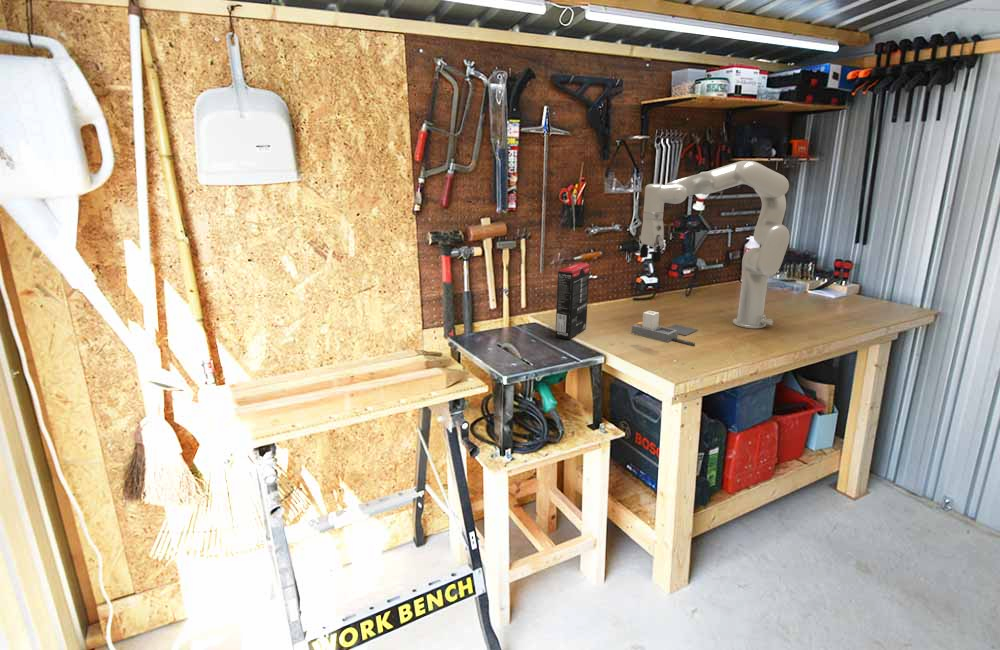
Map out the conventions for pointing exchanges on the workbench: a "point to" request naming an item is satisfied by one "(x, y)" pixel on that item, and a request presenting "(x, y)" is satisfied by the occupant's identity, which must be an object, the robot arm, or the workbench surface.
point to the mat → (683, 329)
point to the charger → (650, 320)
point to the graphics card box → (572, 300)
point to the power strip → (659, 333)
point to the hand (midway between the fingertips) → (649, 259)
